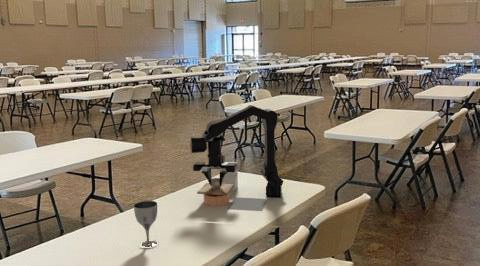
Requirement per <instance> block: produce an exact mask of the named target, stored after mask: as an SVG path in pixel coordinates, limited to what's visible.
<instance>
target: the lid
mask: <svg viewBox="0 0 480 266" xmlns="http://www.w3.org/2000/svg"><path fill="white" fill-rule="evenodd" d="M233 187H234V184H222V186H220V177H212V179H211V186H210V184H209V182H205V184H204V185H203V186H202V187H201V188H200V189H199V190H198V191H197V192H196V193H197V195H203V194H211V195H227V194H228V193H229V194H230V192H231V191H230V190H231V189H232V188H233Z"/></svg>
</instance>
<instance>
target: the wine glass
mask: <svg viewBox="0 0 480 266" xmlns="http://www.w3.org/2000/svg"><path fill="white" fill-rule="evenodd" d="M133 211H134V217H135V219H136V222H138V224H139V225H141V226H142V228H143V229H144V231H145V234H146V235H145V236H146V240H144V241H145V242H143V241H142V242H143V243H142V246H145V247H150V246H151V247H152V246H155V245H156V244H157V242H158V241H157V242H156V240H153V241H149V240H150V229H151V227H152V225H153V224H154V223H155V222H156V220H157V216H158V202H157V201H155V200H142V201H138V202H136V203H133Z"/></svg>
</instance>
